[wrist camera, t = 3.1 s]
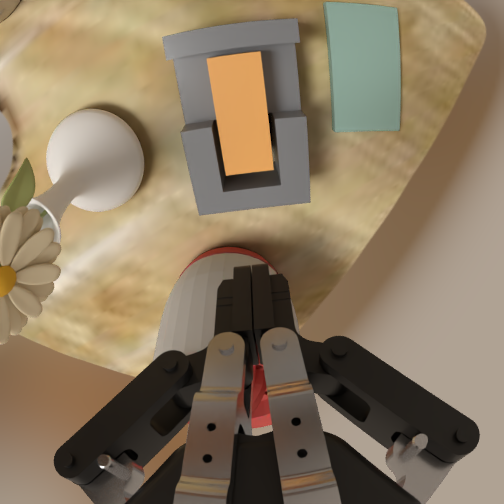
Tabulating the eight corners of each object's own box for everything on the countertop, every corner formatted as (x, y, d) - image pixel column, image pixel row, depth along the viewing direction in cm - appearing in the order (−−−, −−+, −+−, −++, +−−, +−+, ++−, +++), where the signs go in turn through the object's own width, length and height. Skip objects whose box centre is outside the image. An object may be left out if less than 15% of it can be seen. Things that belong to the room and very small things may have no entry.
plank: (209, 57, 22) (206, 58, 20) (258, 50, 22) (260, 51, 20) (227, 164, 28) (225, 175, 26) (271, 159, 28) (273, 170, 26)
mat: (323, 3, 21) (325, 2, 21) (392, 8, 21) (396, 8, 20) (332, 129, 29) (334, 132, 28) (395, 128, 29) (399, 130, 28)
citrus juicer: (319, 240, 37) (364, 393, 21) (264, 330, 47) (273, 457, 31) (189, 200, 34) (150, 362, 18) (161, 305, 43) (135, 439, 28)
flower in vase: (119, 219, 35) (32, 423, 15) (43, 172, 30) (-93, 338, 10) (178, 127, 29) (59, 346, 9) (87, 72, 24) (-134, 192, 4)
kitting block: (176, 37, 23) (162, 36, 19) (287, 23, 23) (297, 18, 18) (205, 188, 33) (199, 215, 28) (300, 177, 32) (310, 202, 28)
